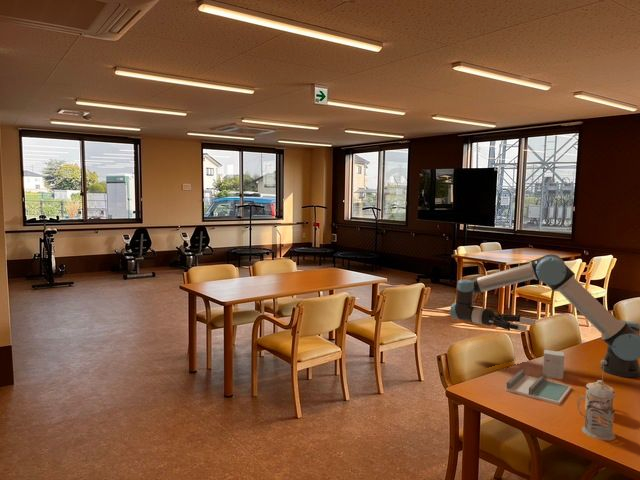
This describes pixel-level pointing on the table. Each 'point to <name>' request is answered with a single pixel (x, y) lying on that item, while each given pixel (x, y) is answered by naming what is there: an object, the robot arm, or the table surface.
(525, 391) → the tray
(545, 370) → the small box
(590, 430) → the french press
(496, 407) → the table surface
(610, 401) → the teacup with lid
